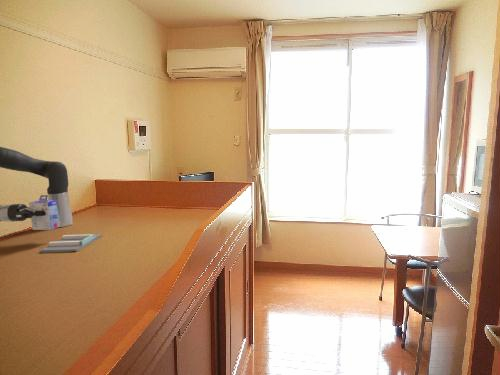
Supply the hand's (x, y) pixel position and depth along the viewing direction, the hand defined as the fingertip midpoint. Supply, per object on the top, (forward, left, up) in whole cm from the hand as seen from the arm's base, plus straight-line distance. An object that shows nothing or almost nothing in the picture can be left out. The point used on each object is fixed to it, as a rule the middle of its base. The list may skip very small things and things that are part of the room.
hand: (49, 211), depth 151 cm
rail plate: (+5, +12, -13) cm, 19 cm away
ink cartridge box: (0, -2, -8) cm, 8 cm away
